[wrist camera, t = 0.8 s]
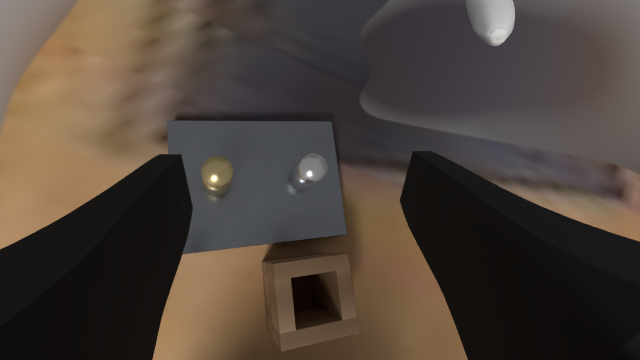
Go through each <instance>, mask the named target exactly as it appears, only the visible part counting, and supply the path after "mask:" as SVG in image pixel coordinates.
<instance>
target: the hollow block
mask: <svg viewBox="0 0 640 360" xmlns="http://www.w3.org/2000/svg"><path fill="white" fill-rule="evenodd" d="M262 269H263V281H264V293H265V305H266V316H267V328H268V332H269V333H270V335H271V336H272V338H273V339H274V341H275V343H276V344H277V346H278V347H279V349H280V350H281V352H283V351H287V350H291V349H295V348H300V347H304V346H308V345H312V344H317V343H321V342H325V341H329V340H333V339H338V338H342V337H346V336H350V335H355V334H359V330H358V323H357V316H356V308H355V301H354V293H353V286H352V279H351V271H350V264H349V257H348V253H322V254H314V255H307V256H300V257H293V258H286V259H279V260H271V261H264V262H262ZM312 274H314V283H315V291H316V300H317V307H313V308H308V309H303V310H298V311H294V306H293V296H292V286H291V278H294V277H300V276H306V275H312Z"/></svg>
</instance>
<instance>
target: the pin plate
mask: <svg viewBox="0 0 640 360" xmlns="http://www.w3.org/2000/svg"><path fill="white" fill-rule="evenodd" d="M167 131H168V154H181V155H182V160H183V164H184V169H185V173H186V178H187V183H188V187H189V192H190V196H191V201H192V206H193V211H192V218H191V224H190V229H189V234H188V238H187V241H186V244H185V247H184V250H183V254H189V253H197V252H205V251H213V250H222V249H230V248H238V247H246V246H255V245H263V244H271V243H279V242H287V241H296V240H304V239H312V238H320V237H329V236H337V235H344V234H347V231H346V223H345V216H344V209H343V201H342V194H341V187H340V180H339V172H338V165H337V158H336V150H335V143H334V136H333V129H332V122H324V121H167Z"/></svg>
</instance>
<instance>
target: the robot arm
mask: <svg viewBox="0 0 640 360" xmlns="http://www.w3.org/2000/svg"><path fill="white" fill-rule="evenodd" d="M400 203H401V206H402V209H403V212H404V215H405V218H406V221H407V223H408V226H409V228H410V230H411V232H412V234H413V236H414V238H415V240H416V242H417V244H418V246H419V248H420V250H421V252H422V253H423V255H424V257H425V259H426V261H427V263H428V265H429V267H430V269H431V271H432V272H433V274H434V276H435V278H436V280H437V282H438V284H439V286H440V288H441V290H442V293H443V295H444V297H445V300H446V302H447V305H448V307H449V310H450V312H451V315H452V317H453V320H454V322H455V325H456V328H457V330H458V333H459V336H460V339H461V342H462V344H463V347H464V350H465V353H466V355H467V358H468V360H640V242H639V241H636V240H632V239H629V238H626V237H623V236H620V235H616V234H613V233H610V232H608V231H605V230H602V229H599V228H596V227H593V226H590V225H587V224H584V223H582V222H579V221H576V220H574V219H571V218H568V217H566V216H563V215H561V214H558V213H556V212H554V211H551V210H549V209H546V208H544V207H541V206H539V205H537V204H535V203H532V202H530V201H528V200H526V199H524V198H521V197H519V196H517V195H515V194H513V193H511V192H509V191H507V190H505V189H503V188H501V187H499V186H497V185H495V184H493V183H491V182H490V181H488V180H486V179H484V178H482V177H480V176H478V175H476V174H475V173H473V172H471V171H469V170H467V169H465V168H464V167H462V166H460V165H458V164H456V163H454V162H452V161H451V160H449V159H447V158H445V157H443V156H441V155H438V154H436V153H434V152H431V151H413V152H412V156H411V160H410V164H409V168H408V171H407V175H406V179H405V183H404V187H403V190H402V194H401V198H400ZM192 211H193V206H192V201H191V196H190V192H189V187H188V183H187V178H186V173H185V169H184V164H183V160H182V155H181V154H159V155H158V156H156V157H154V158H152V159H151V160H149V161H148V162H146V163H145V164H143V165H142V166H140V167H139V168H138V169H136V170H135V171H133V172H132V173H130V174H129V175H128V176H126V177H125V178H123V179H122V180H120V181H119V182H117V183H116V184H114V185H113V186H112V187H110V188H109V189H107V190H106V191H104V192H102V193H101V194H99V195H98V196H96V197H95V198H93V199H91V200H90V201H88V202H87V203H85V204H83V205H82V206H80V207H79V208H77V209H75V210H74V211H72V212H71V213H69V214H67V215H66V216H64V217H62V218H60V219H59V220H57V221H55V222H53V223H51V224H50V225H48V226H46V227H44V228H42V229H40V230H38V231H36V232H35V233H33V234H31V235H29V236H27V237H25V238H23V239H21V240H19V241H17V242H15V243H13V244H11V245H9V246H7V247H5V248H2V249H0V360H152V359H153V354H154V350H155V345H156V341H157V336H158V331H159V327H160V322H161V318H162V315H163V311H164V308H165V304H166V301H167V298H168V295H169V292H170V289H171V286H172V283H173V280H174V277H175V274H176V271H177V268H178V266H179V263H180V260H181V257H182V254H183V250H184V247H185V244H186V241H187V238H188V234H189V229H190V224H191V218H192Z"/></svg>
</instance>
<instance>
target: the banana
mask: <svg viewBox="0 0 640 360" xmlns="http://www.w3.org/2000/svg"><path fill="white" fill-rule="evenodd" d="M465 5H466V10H467V15H468V18H469V21H470V24H471V27H472V29H473V31H474V32H475V34H476V35H477V36H478V37H479V38H481V39H482V40H483V41H485V42H486V43H487V44H489V45H492V46H498V45H500V44H501V43H503V42H504V41H505V40H506V38H507V37H508V36H509V35H510V33H511V32H512V30H513V26H514V20H515V10H514V4H513V1H512V0H465Z"/></svg>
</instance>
